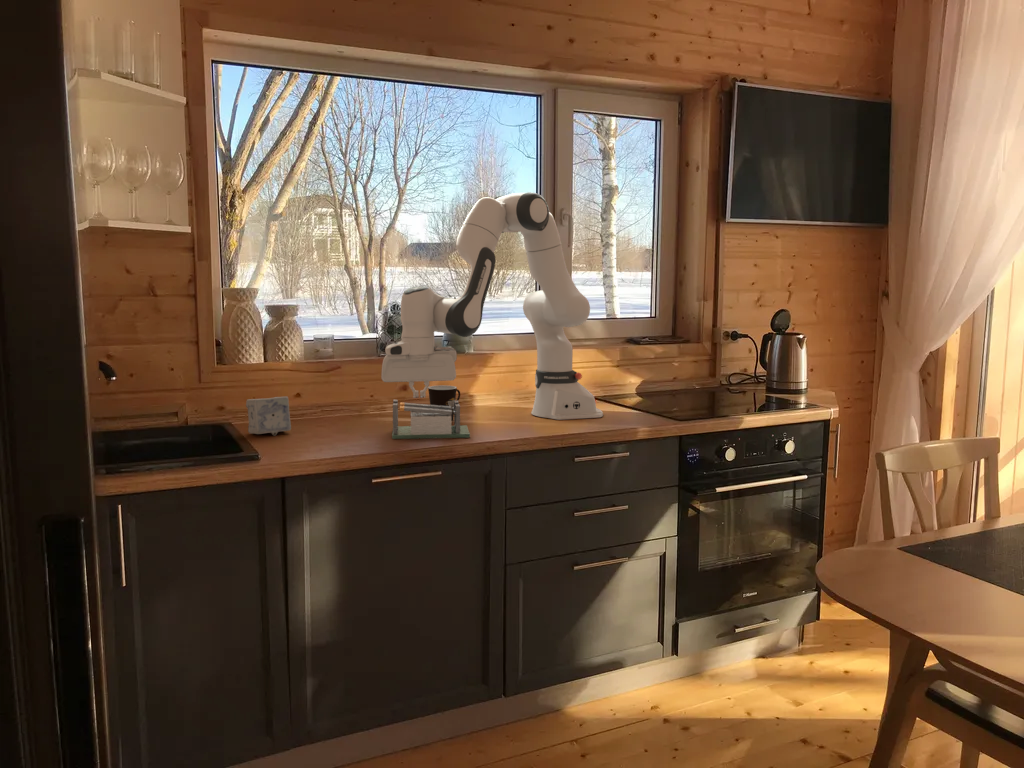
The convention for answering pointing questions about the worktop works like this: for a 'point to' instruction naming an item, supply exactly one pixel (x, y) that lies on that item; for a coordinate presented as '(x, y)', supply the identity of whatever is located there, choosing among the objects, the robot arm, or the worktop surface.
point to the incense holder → (268, 415)
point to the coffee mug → (443, 396)
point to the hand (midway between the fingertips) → (419, 397)
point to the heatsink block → (430, 425)
